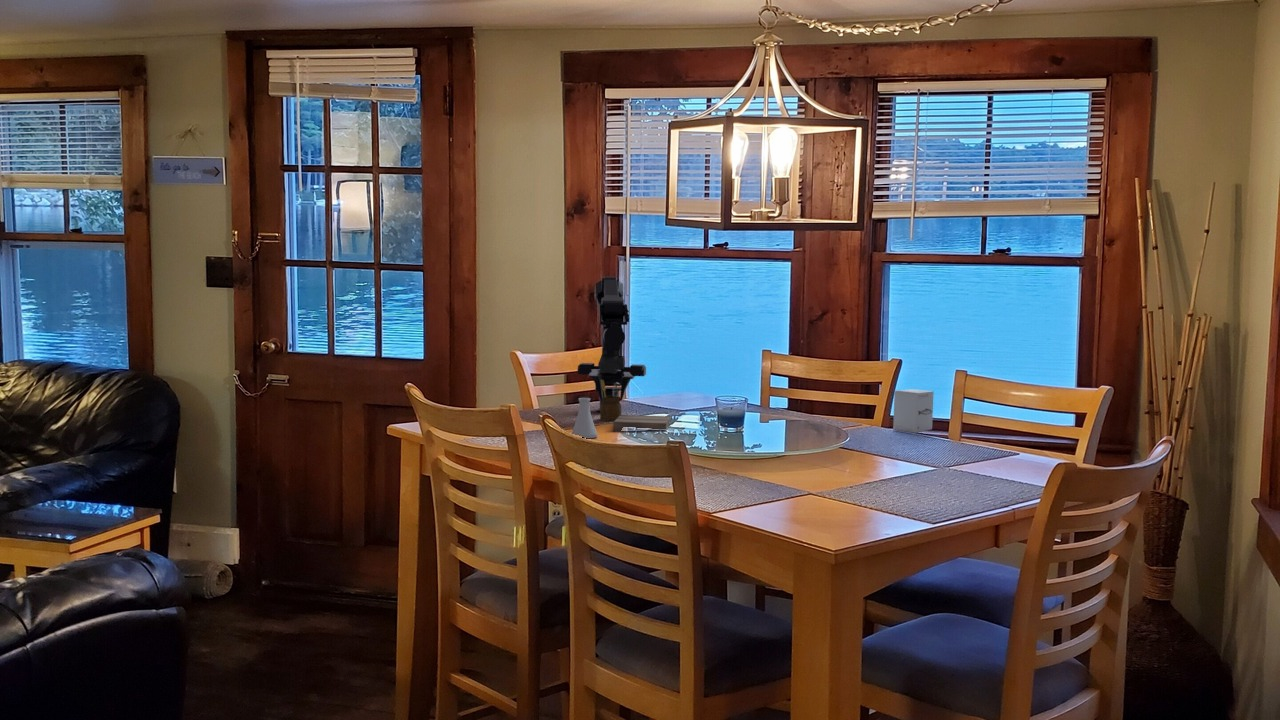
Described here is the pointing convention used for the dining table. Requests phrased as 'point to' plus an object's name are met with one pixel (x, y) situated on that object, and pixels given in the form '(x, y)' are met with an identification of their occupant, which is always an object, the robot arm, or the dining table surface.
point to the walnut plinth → (641, 422)
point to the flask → (584, 420)
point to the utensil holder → (609, 406)
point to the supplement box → (913, 410)
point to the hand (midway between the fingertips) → (611, 400)
